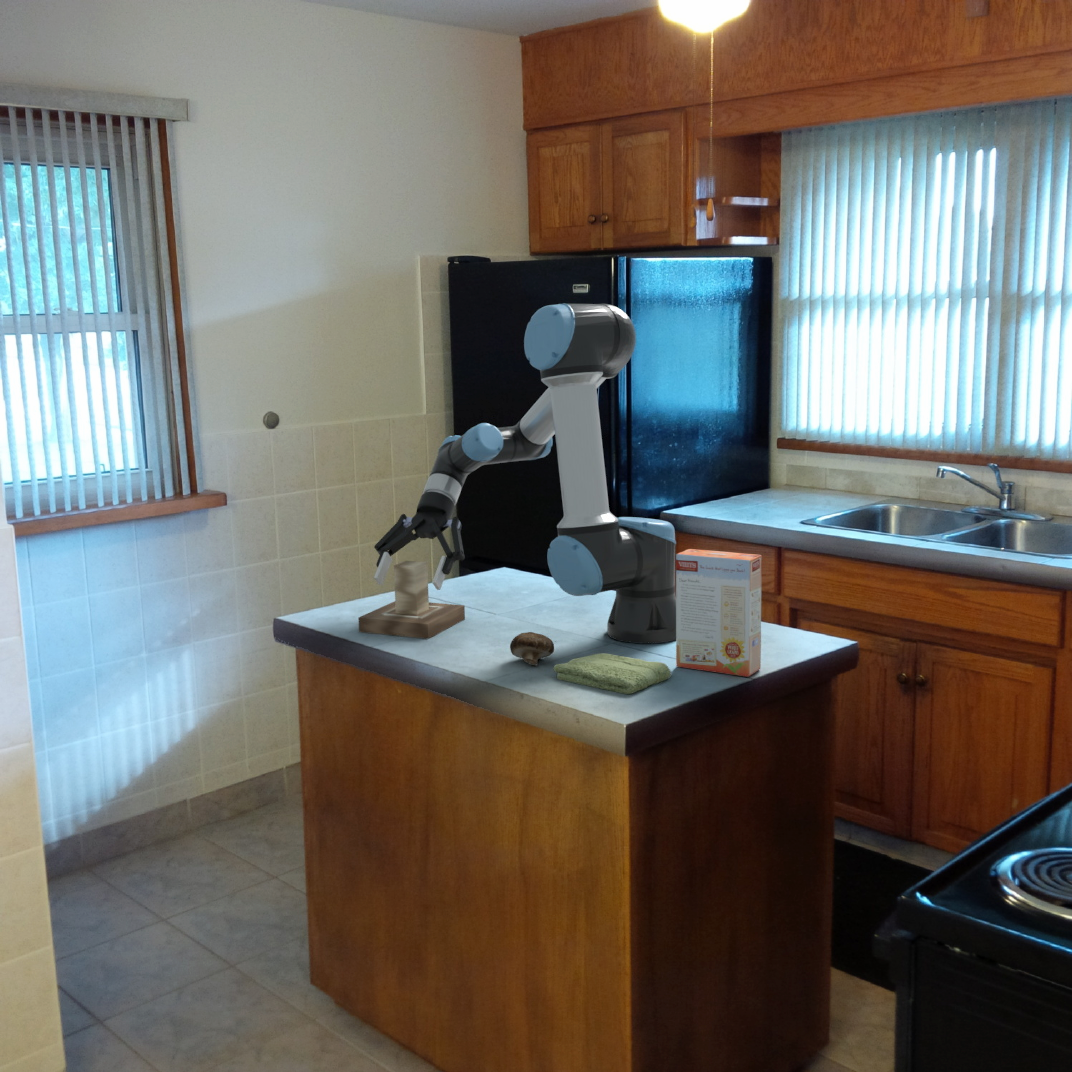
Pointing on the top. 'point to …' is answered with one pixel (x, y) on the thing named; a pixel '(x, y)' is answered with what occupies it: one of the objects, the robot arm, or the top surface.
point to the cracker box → (718, 611)
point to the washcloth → (613, 672)
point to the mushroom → (531, 647)
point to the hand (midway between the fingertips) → (406, 584)
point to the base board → (412, 620)
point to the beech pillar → (411, 587)
